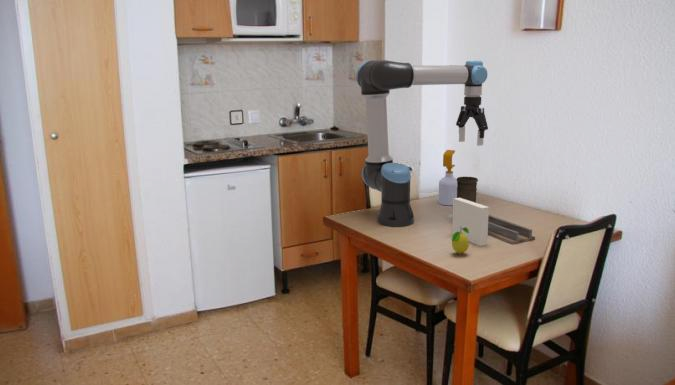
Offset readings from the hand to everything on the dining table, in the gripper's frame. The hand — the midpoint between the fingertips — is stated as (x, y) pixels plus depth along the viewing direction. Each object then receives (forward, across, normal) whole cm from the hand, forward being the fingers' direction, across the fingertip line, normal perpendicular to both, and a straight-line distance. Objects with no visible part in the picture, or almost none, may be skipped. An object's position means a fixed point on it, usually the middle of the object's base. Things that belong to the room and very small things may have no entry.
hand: (470, 143), depth 253 cm
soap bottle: (+28, +1, +10) cm, 29 cm away
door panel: (+28, -46, +33) cm, 63 cm away
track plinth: (+27, -45, +18) cm, 56 cm away
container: (+28, -26, +20) cm, 43 cm away
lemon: (+28, -58, +46) cm, 79 cm away
